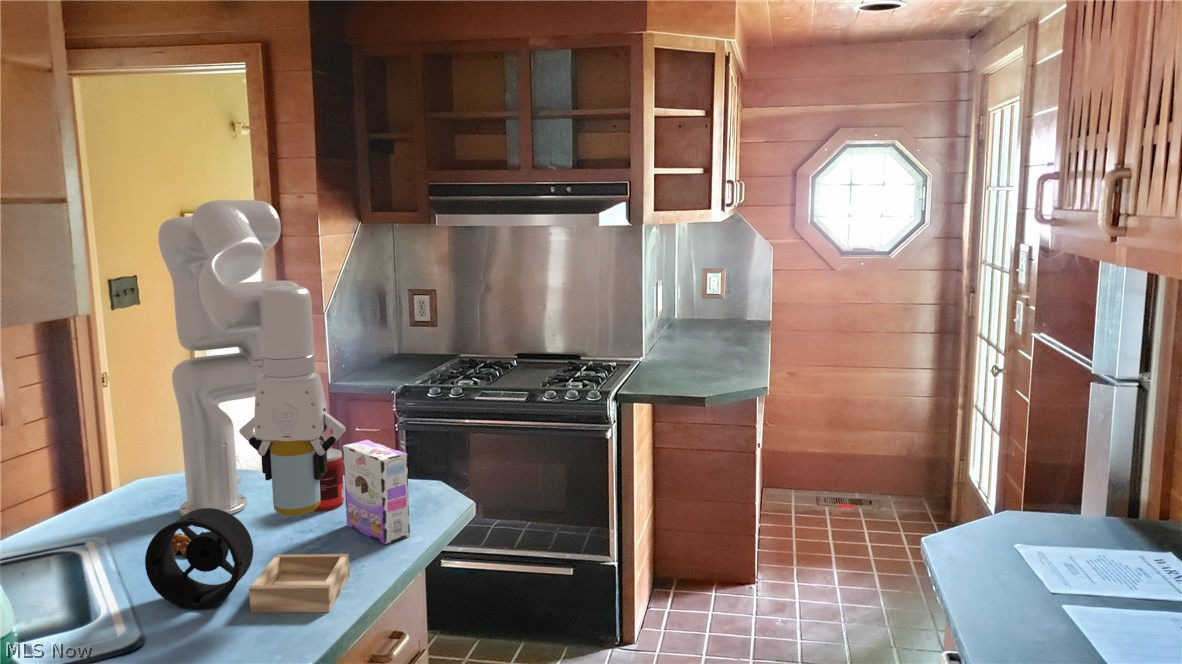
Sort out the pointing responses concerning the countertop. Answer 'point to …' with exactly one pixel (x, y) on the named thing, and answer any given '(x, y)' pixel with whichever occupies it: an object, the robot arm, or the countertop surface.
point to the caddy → (299, 583)
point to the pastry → (180, 543)
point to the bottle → (293, 474)
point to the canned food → (332, 482)
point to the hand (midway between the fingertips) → (295, 476)
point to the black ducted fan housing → (199, 558)
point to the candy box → (376, 490)
